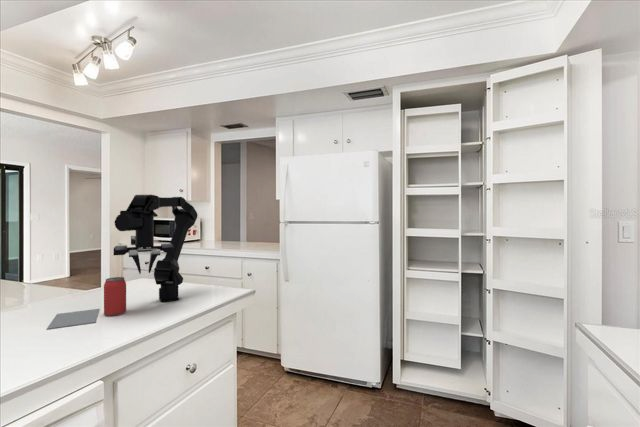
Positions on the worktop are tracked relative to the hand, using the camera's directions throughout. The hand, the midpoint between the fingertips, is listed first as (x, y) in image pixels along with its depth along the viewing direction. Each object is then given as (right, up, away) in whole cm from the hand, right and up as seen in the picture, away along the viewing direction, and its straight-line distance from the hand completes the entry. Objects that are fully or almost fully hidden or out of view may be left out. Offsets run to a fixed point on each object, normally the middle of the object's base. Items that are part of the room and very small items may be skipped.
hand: (144, 273), depth 117 cm
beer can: (-8, -13, -4) cm, 16 cm away
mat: (-17, -13, -10) cm, 24 cm away
